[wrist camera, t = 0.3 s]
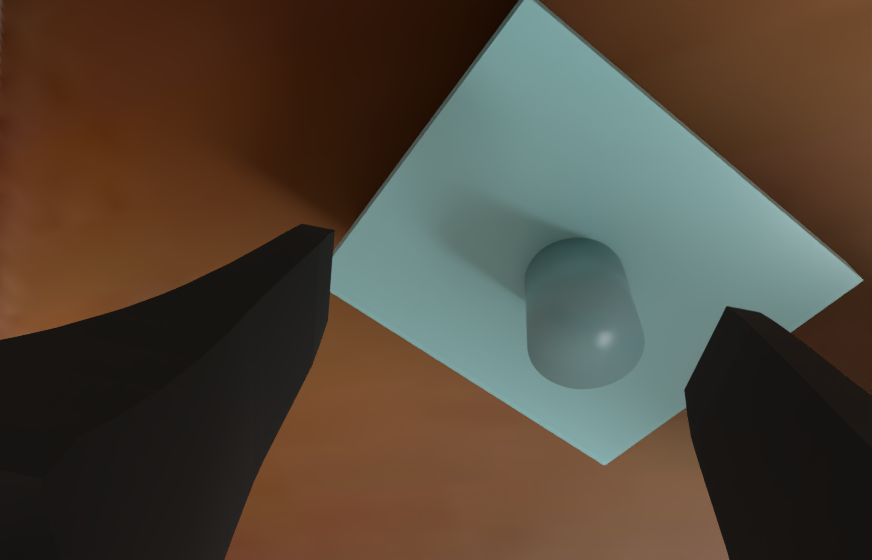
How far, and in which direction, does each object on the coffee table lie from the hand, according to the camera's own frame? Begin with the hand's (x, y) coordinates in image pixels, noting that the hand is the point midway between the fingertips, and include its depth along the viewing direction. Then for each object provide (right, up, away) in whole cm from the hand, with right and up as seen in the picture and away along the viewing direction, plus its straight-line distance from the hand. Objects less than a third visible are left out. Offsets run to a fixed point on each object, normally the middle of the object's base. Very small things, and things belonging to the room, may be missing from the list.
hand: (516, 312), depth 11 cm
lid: (+3, +1, +7) cm, 8 cm away
